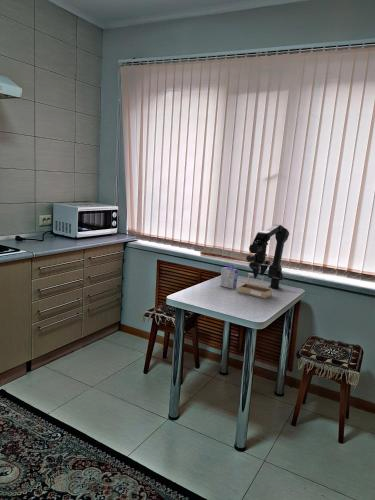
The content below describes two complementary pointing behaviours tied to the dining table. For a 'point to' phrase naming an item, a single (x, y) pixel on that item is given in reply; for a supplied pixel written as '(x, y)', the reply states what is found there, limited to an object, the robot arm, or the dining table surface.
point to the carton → (255, 291)
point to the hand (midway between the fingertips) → (258, 277)
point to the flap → (255, 284)
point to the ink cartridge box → (229, 277)
